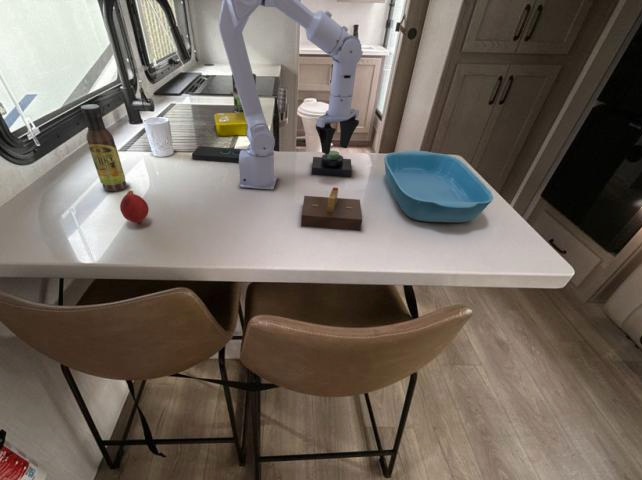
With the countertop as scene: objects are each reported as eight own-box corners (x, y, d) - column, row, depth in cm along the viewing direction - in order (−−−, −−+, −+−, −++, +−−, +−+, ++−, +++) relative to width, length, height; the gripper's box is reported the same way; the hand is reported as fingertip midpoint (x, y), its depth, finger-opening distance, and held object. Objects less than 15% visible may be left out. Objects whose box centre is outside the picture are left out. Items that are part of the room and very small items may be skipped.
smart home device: (252, 158, 104) (191, 154, 106) (252, 164, 106) (191, 159, 107) (257, 149, 110) (199, 145, 112) (257, 154, 112) (199, 150, 113)
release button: (326, 160, 100) (327, 154, 99) (326, 156, 103) (327, 150, 101) (338, 161, 100) (339, 155, 99) (338, 156, 102) (339, 151, 101)
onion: (137, 232, 75) (126, 199, 69) (120, 224, 77) (108, 192, 72) (157, 221, 79) (148, 189, 73) (140, 214, 81) (130, 182, 75)
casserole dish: (373, 170, 104) (378, 146, 100) (444, 172, 105) (452, 149, 100) (400, 232, 78) (408, 204, 73) (495, 235, 78) (509, 208, 73)
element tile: (256, 135, 126) (256, 121, 123) (217, 136, 124) (215, 122, 120) (251, 123, 137) (250, 110, 134) (214, 124, 134) (213, 111, 131)
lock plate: (300, 226, 79) (301, 214, 76) (303, 206, 86) (304, 194, 84) (360, 230, 78) (362, 218, 76) (357, 210, 85) (359, 198, 83)
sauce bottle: (100, 192, 88) (68, 109, 75) (108, 182, 93) (79, 102, 79) (124, 192, 89) (97, 109, 75) (131, 182, 93) (106, 102, 80)
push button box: (311, 174, 101) (312, 161, 98) (312, 163, 107) (313, 150, 104) (350, 177, 100) (353, 164, 97) (349, 166, 107) (351, 153, 104)
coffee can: (254, 115, 146) (252, 77, 136) (231, 113, 147) (228, 76, 137) (259, 109, 153) (258, 73, 144) (238, 107, 154) (235, 71, 145)
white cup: (180, 152, 111) (174, 119, 104) (162, 159, 106) (154, 125, 100) (164, 147, 114) (157, 115, 107) (145, 154, 109) (137, 121, 102)
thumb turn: (332, 212, 78) (334, 197, 75) (326, 211, 78) (328, 196, 75) (336, 202, 82) (338, 187, 79) (331, 201, 82) (332, 186, 79)
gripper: (347, 88, 90) (340, 141, 99) (309, 95, 82) (306, 151, 92) (368, 93, 86) (359, 147, 95) (330, 101, 79) (324, 159, 88)
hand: (334, 150), depth 93 cm, fingers open, 7 cm apart
